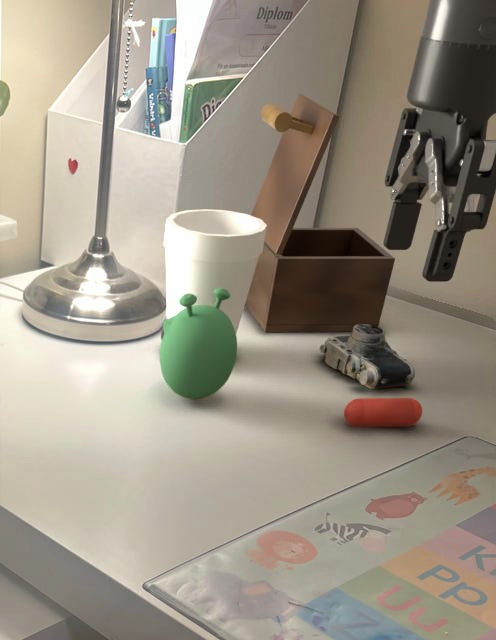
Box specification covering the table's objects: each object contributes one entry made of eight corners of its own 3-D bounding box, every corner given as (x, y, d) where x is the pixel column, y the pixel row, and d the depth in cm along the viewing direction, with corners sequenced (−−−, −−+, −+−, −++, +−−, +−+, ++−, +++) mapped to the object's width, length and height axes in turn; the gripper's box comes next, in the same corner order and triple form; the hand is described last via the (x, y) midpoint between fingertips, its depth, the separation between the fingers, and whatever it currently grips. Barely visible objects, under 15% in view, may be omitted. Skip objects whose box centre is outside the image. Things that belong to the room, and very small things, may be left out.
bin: (342, 296, 116) (357, 227, 111) (377, 331, 107) (395, 258, 102) (238, 296, 115) (249, 227, 111) (264, 332, 106) (277, 258, 101)
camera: (367, 395, 93) (377, 352, 91) (313, 355, 101) (321, 315, 99) (413, 390, 95) (425, 347, 92) (356, 351, 102) (365, 311, 100)
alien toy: (189, 373, 97) (202, 270, 91) (245, 400, 92) (263, 294, 86) (135, 389, 94) (145, 283, 87) (190, 418, 89) (205, 308, 83)
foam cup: (233, 378, 96) (255, 241, 88) (142, 363, 99) (156, 228, 91) (251, 345, 103) (273, 215, 95) (166, 332, 106) (181, 205, 98)
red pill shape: (411, 418, 89) (419, 393, 88) (422, 430, 87) (430, 404, 86) (337, 419, 89) (343, 393, 87) (346, 431, 87) (353, 405, 86)
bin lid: (304, 95, 103) (262, 81, 102) (340, 116, 94) (294, 101, 92) (253, 224, 110) (213, 213, 109) (281, 255, 101) (238, 243, 100)
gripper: (577, 47, 65) (498, 292, 75) (483, 23, 76) (425, 239, 86) (468, 45, 64) (403, 292, 74) (389, 21, 76) (342, 238, 86)
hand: (415, 263), depth 80 cm, fingers open, 8 cm apart
